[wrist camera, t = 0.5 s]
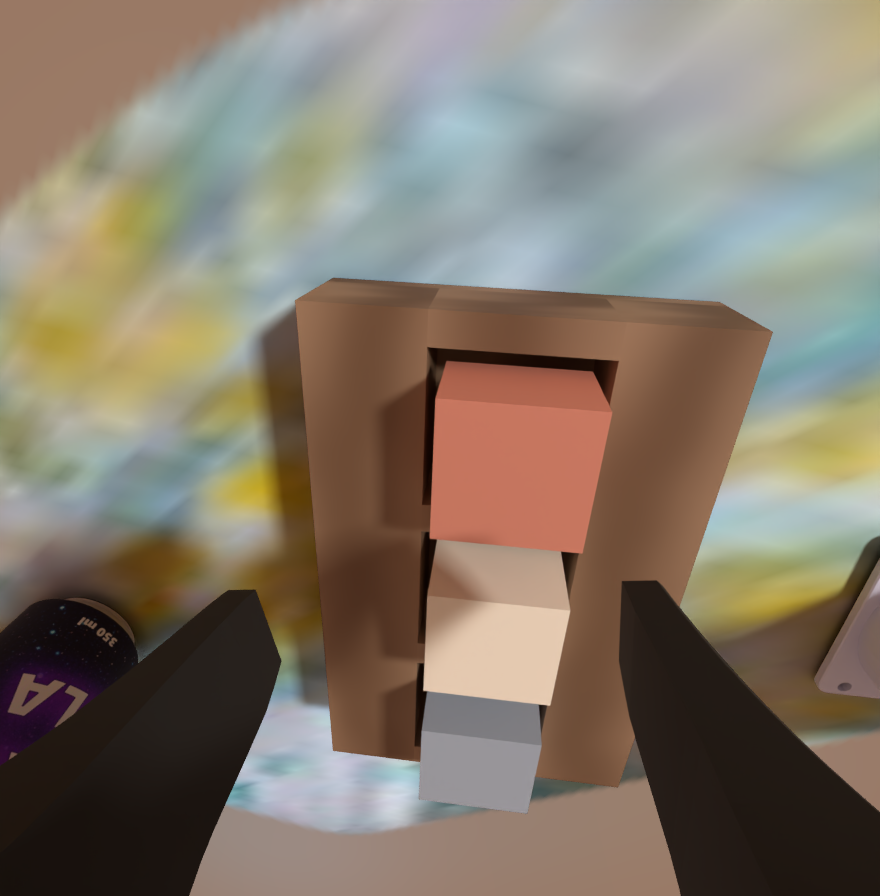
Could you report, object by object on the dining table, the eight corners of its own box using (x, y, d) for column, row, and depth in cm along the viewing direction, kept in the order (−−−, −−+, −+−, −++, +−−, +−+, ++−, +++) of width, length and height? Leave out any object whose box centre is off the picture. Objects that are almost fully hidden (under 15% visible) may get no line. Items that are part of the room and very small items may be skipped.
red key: (592, 371, 14) (612, 411, 12) (569, 495, 16) (582, 553, 14) (446, 360, 14) (435, 398, 12) (440, 484, 16) (429, 538, 14)
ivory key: (560, 547, 17) (570, 610, 14) (543, 636, 19) (550, 705, 16) (437, 535, 17) (427, 595, 15) (433, 624, 19) (423, 690, 17)
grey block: (536, 674, 20) (541, 745, 17) (524, 740, 22) (527, 813, 19) (431, 662, 20) (421, 730, 18) (428, 728, 22) (418, 799, 19)
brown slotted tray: (719, 301, 16) (773, 331, 13) (602, 710, 25) (617, 787, 22) (333, 277, 17) (295, 300, 14) (353, 681, 25) (332, 750, 22)
